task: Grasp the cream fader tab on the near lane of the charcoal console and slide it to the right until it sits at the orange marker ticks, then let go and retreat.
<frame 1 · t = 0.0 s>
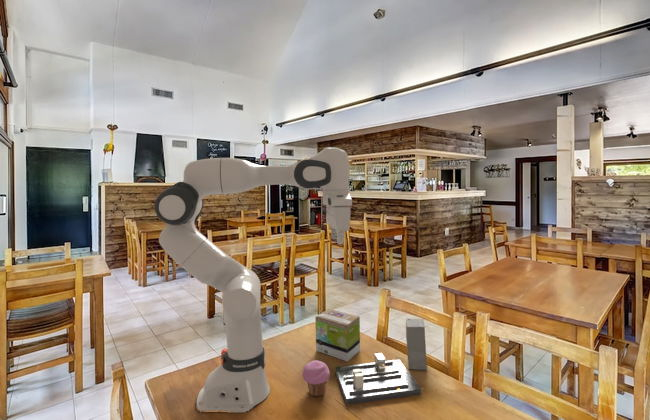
hand: (337, 241, 111), 48 cm above the table, fingers open, 8 cm apart
console: (375, 382, 114), on the table
cupcake: (316, 392, 110), on the table
tea box: (338, 352, 135), on the table
skincare box: (416, 364, 125), on the table
fader knob: (358, 378, 108), point 5 cm above the table, slide at 0.0 cm
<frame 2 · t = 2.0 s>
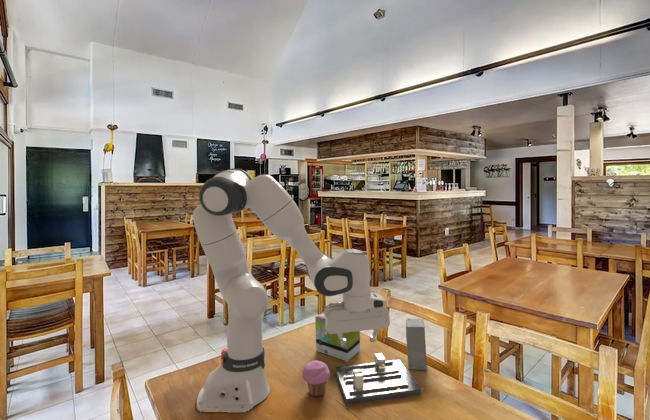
hand: (358, 343, 107), 16 cm above the table, fingers open, 8 cm apart
nothing on the table moved.
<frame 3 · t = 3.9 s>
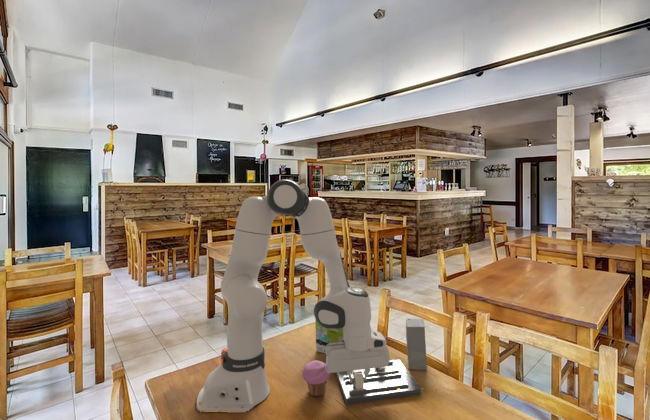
hand: (358, 381, 109), 4 cm above the table, fingers closed on fader knob, 2 cm apart
fader knob: (358, 378, 108), point 5 cm above the table, slide at 0.0 cm, touching gripper
everything else where it was.
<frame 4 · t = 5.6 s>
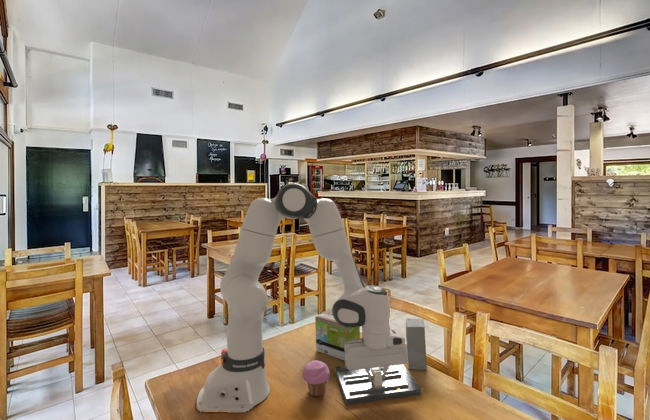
hand: (376, 378, 110), 4 cm above the table, fingers closed on fader knob, 2 cm apart
fader knob: (376, 376, 109), point 5 cm above the table, slide at 6.1 cm, touching gripper
everything else where it was.
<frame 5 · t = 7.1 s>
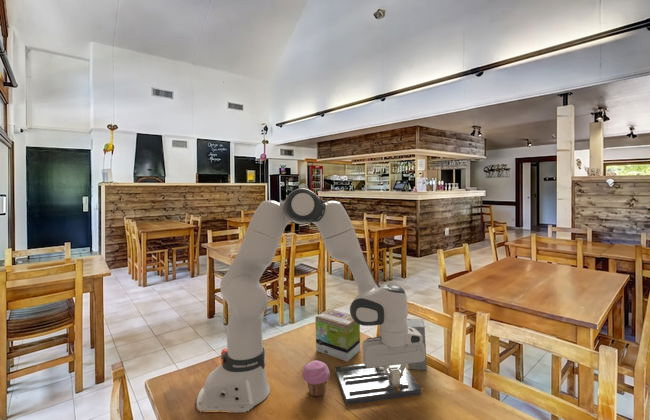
hand: (394, 376, 110), 4 cm above the table, fingers closed on fader knob, 2 cm apart
fader knob: (394, 374, 110), point 5 cm above the table, slide at 12.1 cm, touching gripper
everything else where it was.
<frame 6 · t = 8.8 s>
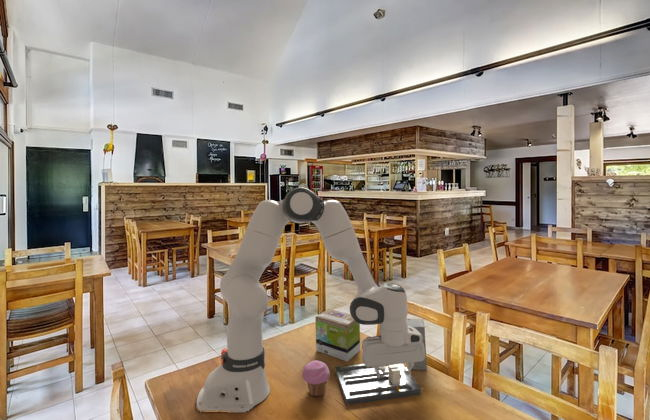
hand: (393, 375, 110), 4 cm above the table, fingers open, 8 cm apart
fader knob: (394, 374, 110), point 5 cm above the table, slide at 12.1 cm
everything else where it was.
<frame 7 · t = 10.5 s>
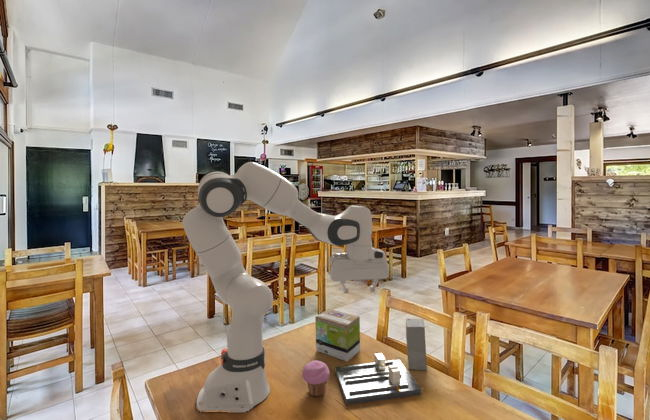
hand: (359, 291, 118), 29 cm above the table, fingers open, 8 cm apart
nothing on the table moved.
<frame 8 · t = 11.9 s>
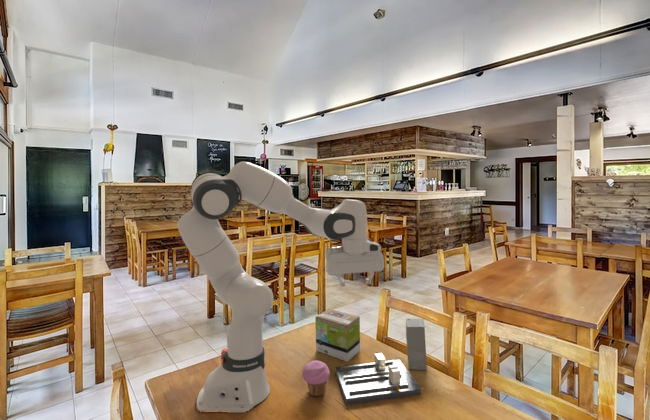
hand: (355, 284, 119), 31 cm above the table, fingers open, 8 cm apart
nothing on the table moved.
at the end: fader knob slide at 12.1 cm; the gripper is holding nothing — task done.
